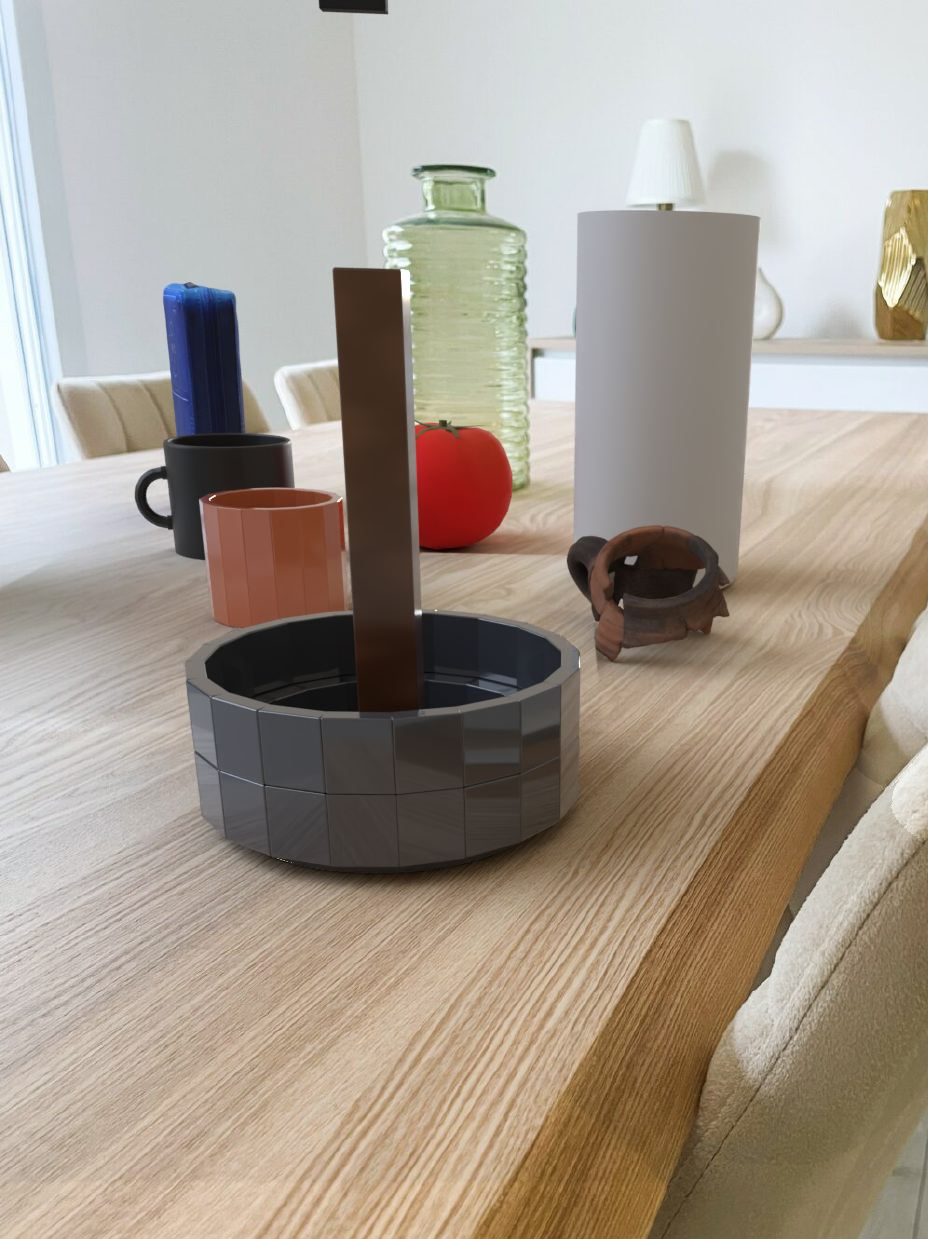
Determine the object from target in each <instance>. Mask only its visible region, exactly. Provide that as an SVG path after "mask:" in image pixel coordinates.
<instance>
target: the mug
mask: <svg viewBox="0 0 928 1239" xmlns="http://www.w3.org/2000/svg"><path fill="white" fill-rule="evenodd" d="M162 447H163V456H164V464H165V465H161V466H159V467H153V468H150V469H148V470H147V471H145V472H144V473H143V474H142V475H141V476H140V477H139V478H138V480H137V482H136V484H135V486H134V501H135V505H136V508H137V510H138V512H139V513H140V514H141V515H142V517H143V518H144V519H145V520H146V521H147V522H149V523H151V524H152V525H153V526H156V527H159V528H164V529H167V530H168V531H171V530H172V532H173V541H174V549H175V553H176V554H177V555H179V556H181V557H184V558H188V559H192V560H199V561H206V560H205V550H204V541H203V532H202V522H201V513H200V504H199V499H200V498H202V497H204V496H206V495H208V494H212V493H217V492H222V491H229V490H239V489H250V488H296V486H295V484H296V483H295V470H294V459H293V458H294V457H293V446H292V440H291V439H290V438H289V437H285V436H281V435H276V434H268V433H267V434H266V433H265V434H264V433H250V432H249V433H212V434H194V435H184V436H177V435H176V436H172V437H168V438H166V439H164V440H163V442H162ZM157 480H162V481H163V480H164V481H165V480H166V482H167V489H168V498H169V499H168V500H169V507H170V514H167V515H166V516H165V515H162V514H159V513H157V512H156V511H155V510H154V509H153V508H152V507H151V506H150V504H149V502H148V498H147V492H148V488H149V487H150V485H152V483H154V482H155V481H157Z"/></svg>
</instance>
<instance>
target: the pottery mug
mask: <svg viewBox="0 0 928 1239" xmlns="http://www.w3.org/2000/svg"><path fill="white" fill-rule="evenodd" d="M634 556H637V559H636V561H635V563H634V564H633V565H631V564H625V560H626V557H634ZM718 563H719V556H718V554H717V552H716V551H715V550H714V549H713V548H712V547H711V546H710V545H709V544H708V543H707V542H706V541H705V540H704V539H702V538H701V537H699V536H697V535H694V534H692V533H690V532H688V531H686V530H683V529H679V528H676V527H671V526H664V527H662V526H661V525H652V526H642V527H637V528H633V529H630V530H628V531H625V532H623V533H620V534H618V535H617V536H615V537H613V538H612V539H610V540H609V541H607V540H606V539H604V538H601V537H597V536H583V537H581V538H580V539H578V540H577V542H576V543H574V544H571V546H569V549H568V552H567V555H566V566H567V569H568V572H569V575H570V578H572V580H573V582H574V584H575V586H577V588H578V590H579V591H580V593H581V594H582V595H583V596H584V598H585V599H586V600H587V601H588V602H589V603H590V610H591V613H592V616H593V618H594V621H595V622H598V624H597V628H596V633H595V634H594V637H593V639H594V642H595V649H596V650H597V651H598V652H599V653H600V654H602V656H605V657H606V658H607V659H608V660H610V661H611V662H614V661H616V659H617V658H618V656H619V655H620V653H621V652H622V649H626V650H629V649H635V648H641V647H648V646H652V645H659V644H664V643H669V642H674V641H682V640H684V639H686V638H687V637H688V634H689V633H688V632H689V631H691V632H694V633H695V632H698V631H700V632H702V633H703V634H704V635H710V634H711V632H712V628H713V623H714V619H715V618H717V617H721V618H728V617H729V616H730V612H729V609H728V604H727V601H726V598H725V595H724V593H723V591H722V589H720V587H719V585H720V586H724V585H726V584H730V581H729V579H728V577H727V576H726V574H725V573H724V572H723V570H722V569H721V567H720V566H718ZM704 568H705V575H704V576H703V578H702V579H701V580H700V582H699V583H698V584H697V585H696V586H695V587H693V584H694V582H695V578H696V575H697V572H698V569H704ZM730 585H731V584H730ZM621 600H622V607H621V606H620V602H621Z"/></svg>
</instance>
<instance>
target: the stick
mask: <svg viewBox="0 0 928 1239" xmlns="http://www.w3.org/2000/svg"><path fill="white" fill-rule="evenodd" d="M331 271H332V286H333V288H332V289H333V305H334V306H333V307H334V319H335V337H336V338H335V339H336V354H337V356H336V357H337V370H338V372H337V373H338V388H339V403H340V404H339V405H340V406H339V408H340V421H341V437H342V438H341V439H342V456H343V471H344V472H343V474H344V489H345V491H344V492H345V505H346V506H345V507H346V521H347V538H348V540H347V541H348V555H349V557H348V558H349V570H350V571H349V572H350V591H351V605H352V606H351V609H352V611H353V625H354V642H355V659H356V675H357V692H358V709H359V712H400V711H411V710H423V709H425V690H424V662H423V635H422V609H423V608H422V585H421V582H422V581H421V557H420V546H419V526H418V499H417V471H416V444H415V426H416V422H415V420H416V419H415V418H416V417H415V397H414V396H415V394H414V393H415V391H414V368H413V367H414V366H413V362H414V361H413V337H412V313H411V312H412V311H411V310H412V309H411V285H410V284H411V282H410V271H409V270H408V269H403V268H381V267H380V268H377V267H344V266H343V267H342V266H339V267H338V266H334V267H332V270H331Z"/></svg>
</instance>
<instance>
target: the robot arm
mask: <svg viewBox="0 0 928 1239" xmlns="http://www.w3.org/2000/svg"><path fill="white" fill-rule="evenodd" d="M318 8H319V10H320V11H321V12H322V13H343V14H344V13H345V14H364V15H365V14H366V15H368V14H369V15H389V0H318Z"/></svg>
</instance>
